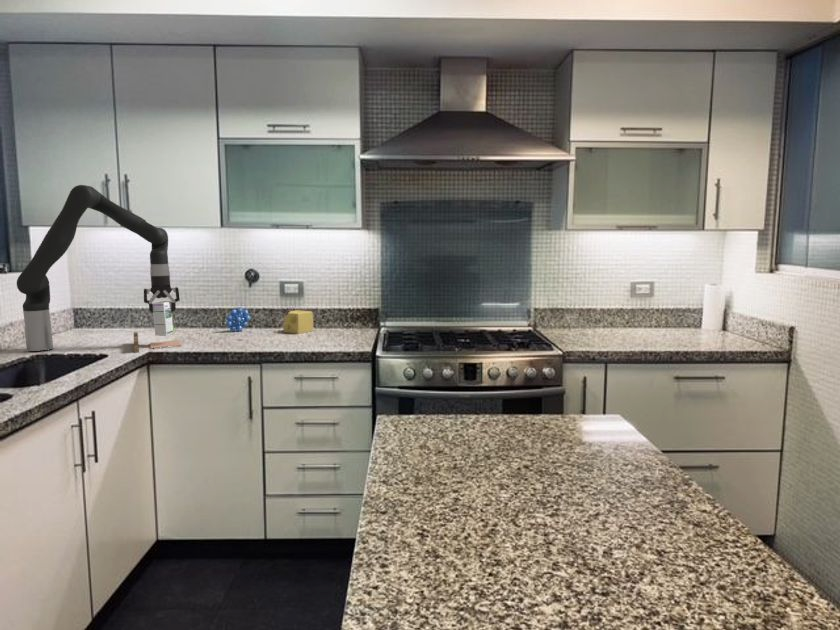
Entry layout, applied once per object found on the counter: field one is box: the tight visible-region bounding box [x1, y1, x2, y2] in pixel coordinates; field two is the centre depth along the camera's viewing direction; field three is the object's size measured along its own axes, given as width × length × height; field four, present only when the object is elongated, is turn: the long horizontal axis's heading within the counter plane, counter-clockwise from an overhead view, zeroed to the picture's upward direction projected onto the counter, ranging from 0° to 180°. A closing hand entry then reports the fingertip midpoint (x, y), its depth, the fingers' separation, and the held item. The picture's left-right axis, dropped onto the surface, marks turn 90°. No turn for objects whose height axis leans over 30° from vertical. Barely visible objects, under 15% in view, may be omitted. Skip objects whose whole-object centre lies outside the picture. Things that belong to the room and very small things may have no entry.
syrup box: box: [152, 300, 175, 337], centre depth 255 cm, size 6×6×14 cm
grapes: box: [225, 307, 251, 332], centre depth 289 cm, size 12×7×12 cm, turn 114°
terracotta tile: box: [149, 340, 182, 350], centre depth 256 cm, size 12×12×1 cm
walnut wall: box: [133, 331, 140, 353], centre depth 251 cm, size 22×2×5 cm, turn 26°
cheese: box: [283, 309, 314, 335], centre depth 287 cm, size 10×11×10 cm
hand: (162, 311), depth 254 cm, fingers closed on syrup box, 8 cm apart
